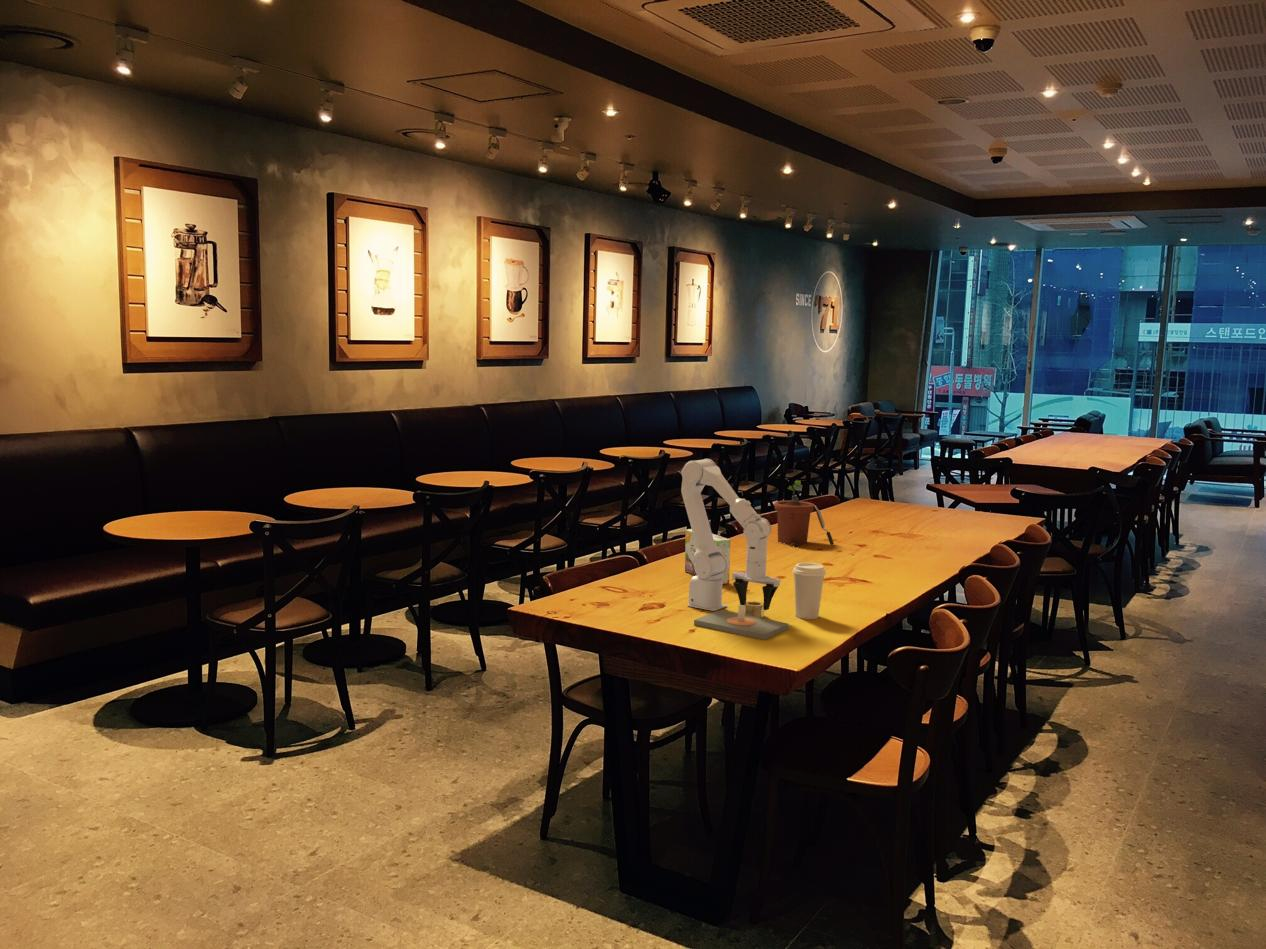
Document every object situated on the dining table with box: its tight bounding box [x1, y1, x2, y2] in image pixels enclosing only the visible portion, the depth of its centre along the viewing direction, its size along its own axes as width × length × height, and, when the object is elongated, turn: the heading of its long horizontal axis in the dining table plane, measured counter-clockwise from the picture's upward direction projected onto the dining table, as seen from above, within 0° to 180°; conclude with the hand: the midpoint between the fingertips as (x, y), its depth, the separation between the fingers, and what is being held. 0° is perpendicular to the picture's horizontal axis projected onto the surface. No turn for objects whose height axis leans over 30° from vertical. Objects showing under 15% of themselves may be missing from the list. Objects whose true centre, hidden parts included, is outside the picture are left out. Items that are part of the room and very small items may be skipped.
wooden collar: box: [744, 600, 766, 619], centre depth 291 cm, size 6×6×4 cm
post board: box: [693, 604, 789, 641], centre depth 279 cm, size 22×14×6 cm, turn 55°
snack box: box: [684, 528, 731, 585], centre depth 338 cm, size 21×6×15 cm, turn 27°
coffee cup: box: [791, 562, 827, 620], centre depth 292 cm, size 10×10×15 cm
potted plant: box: [774, 480, 835, 548], centre depth 404 cm, size 18×22×25 cm
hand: (754, 607), depth 291 cm, fingers open, 7 cm apart
